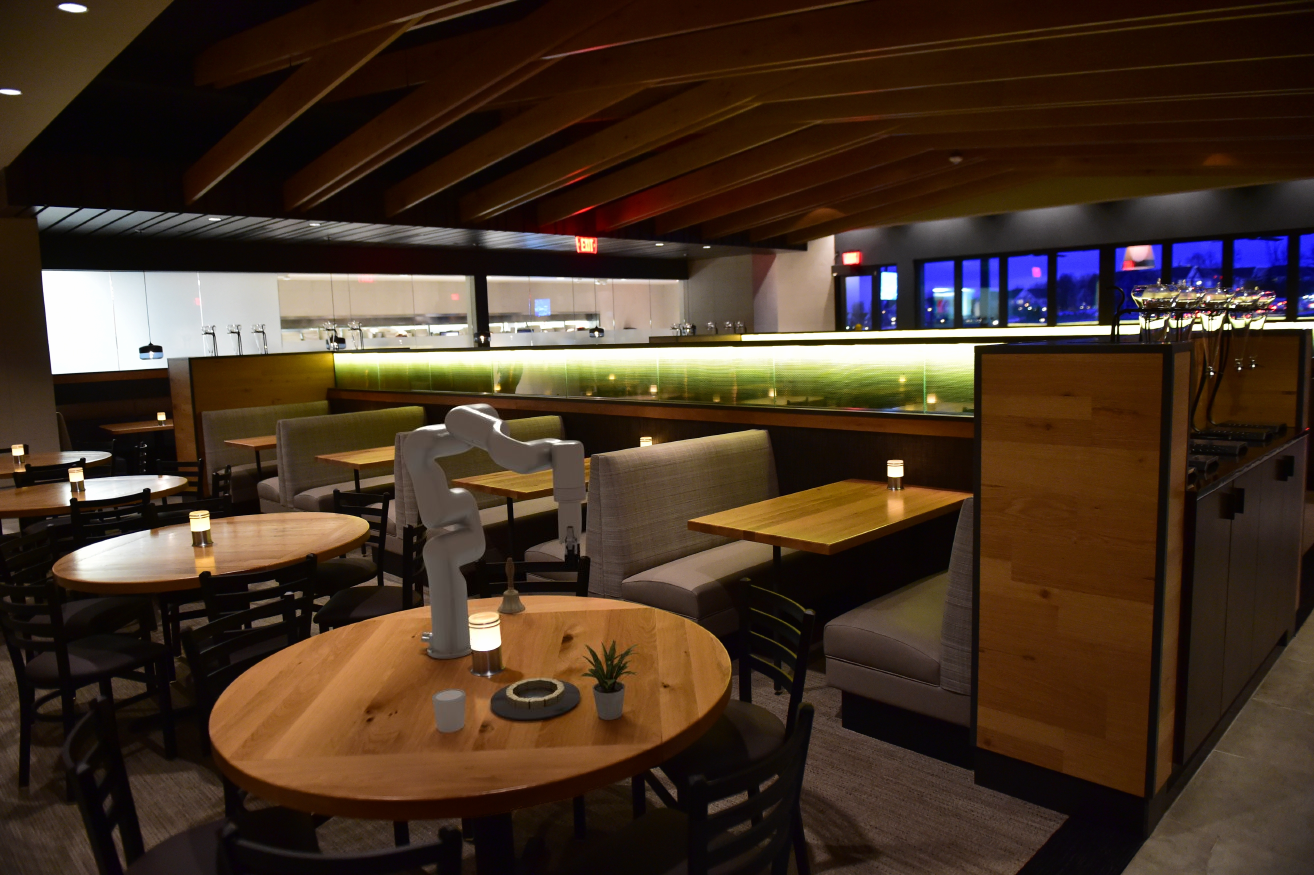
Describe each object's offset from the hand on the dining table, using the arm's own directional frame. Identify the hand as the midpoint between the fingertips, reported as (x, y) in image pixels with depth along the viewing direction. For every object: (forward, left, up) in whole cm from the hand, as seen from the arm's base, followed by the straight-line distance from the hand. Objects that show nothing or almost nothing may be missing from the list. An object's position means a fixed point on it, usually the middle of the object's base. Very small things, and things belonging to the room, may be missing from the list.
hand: (573, 565), depth 199 cm
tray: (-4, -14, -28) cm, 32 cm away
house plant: (+16, -17, -28) cm, 36 cm away
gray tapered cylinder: (-16, -30, -28) cm, 44 cm away
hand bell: (-41, +44, -28) cm, 67 cm away
